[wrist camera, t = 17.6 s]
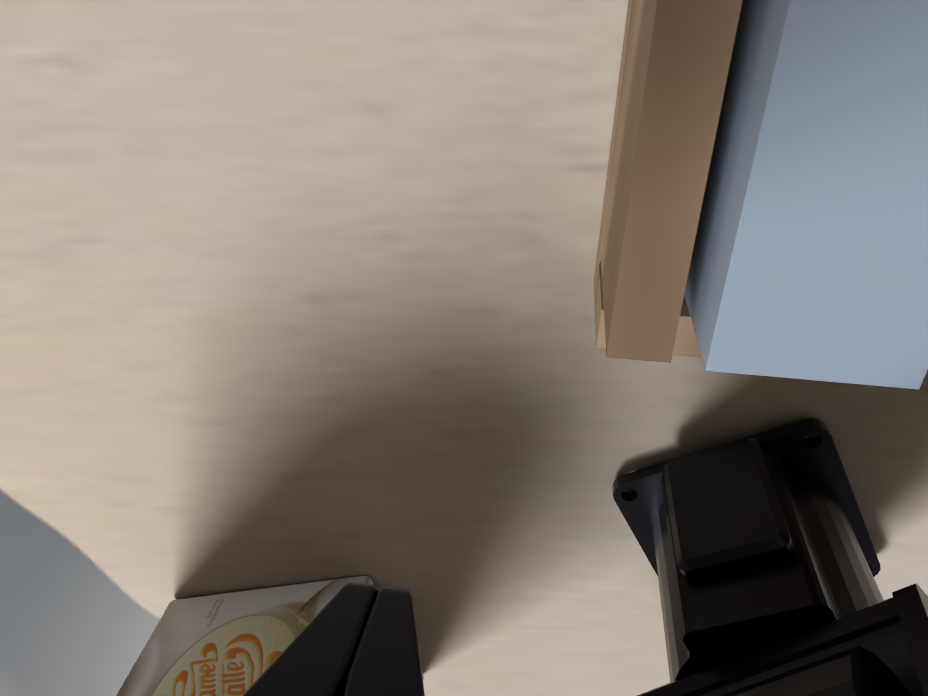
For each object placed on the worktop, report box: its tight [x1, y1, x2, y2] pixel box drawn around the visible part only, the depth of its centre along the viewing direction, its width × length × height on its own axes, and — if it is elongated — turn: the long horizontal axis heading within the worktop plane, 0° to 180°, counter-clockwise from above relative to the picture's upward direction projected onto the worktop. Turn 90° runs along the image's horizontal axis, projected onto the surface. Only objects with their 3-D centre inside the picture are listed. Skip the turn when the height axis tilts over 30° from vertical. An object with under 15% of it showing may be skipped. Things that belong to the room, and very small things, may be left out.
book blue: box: [684, 0, 928, 389], centre depth 13 cm, size 4×7×6 cm, turn 179°
